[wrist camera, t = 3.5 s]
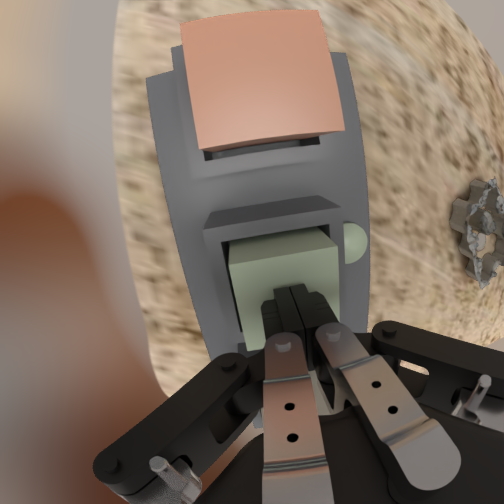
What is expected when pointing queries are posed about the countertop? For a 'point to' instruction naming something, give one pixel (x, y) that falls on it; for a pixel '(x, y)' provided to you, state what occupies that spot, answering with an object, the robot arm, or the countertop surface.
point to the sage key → (280, 273)
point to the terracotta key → (260, 78)
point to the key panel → (259, 202)
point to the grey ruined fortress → (480, 228)
